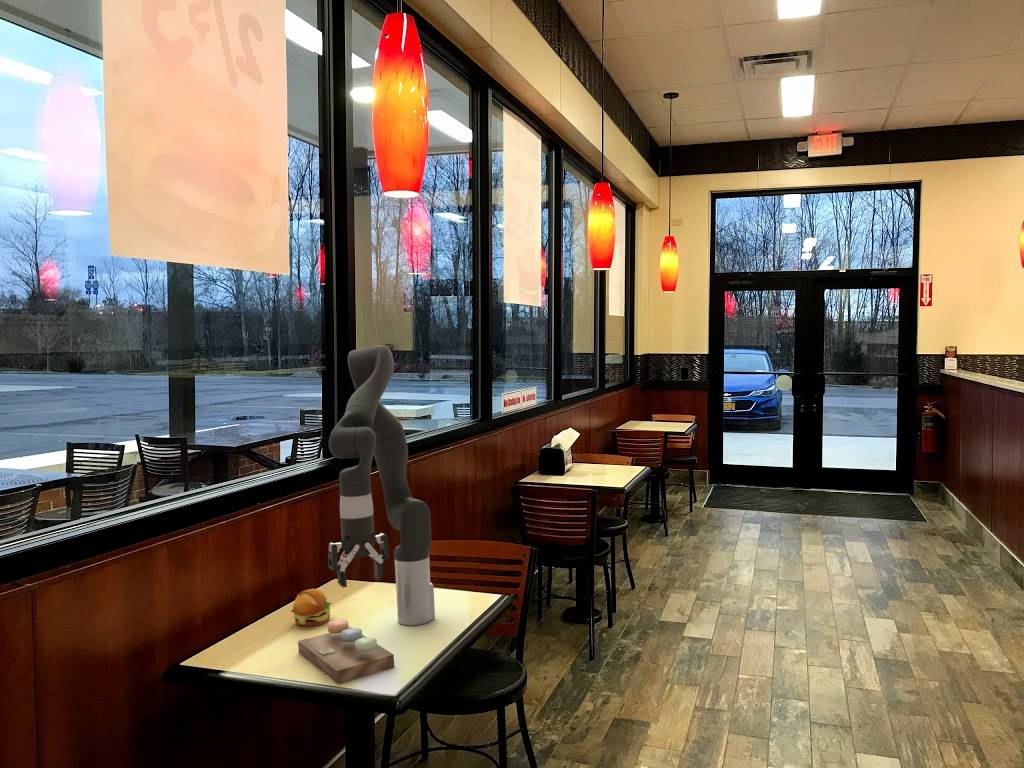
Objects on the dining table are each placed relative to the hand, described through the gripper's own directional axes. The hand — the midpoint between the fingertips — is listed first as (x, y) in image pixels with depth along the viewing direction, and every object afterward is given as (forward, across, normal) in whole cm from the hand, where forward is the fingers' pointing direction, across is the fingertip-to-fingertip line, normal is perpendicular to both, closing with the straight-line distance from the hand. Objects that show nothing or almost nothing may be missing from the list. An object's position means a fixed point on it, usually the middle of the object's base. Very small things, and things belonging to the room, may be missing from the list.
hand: (360, 582), depth 187 cm
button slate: (+15, 0, -8) cm, 17 cm away
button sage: (+15, 0, 0) cm, 15 cm away
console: (+20, +2, -8) cm, 22 cm away
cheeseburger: (+20, -2, -39) cm, 44 cm away
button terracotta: (+15, 0, -16) cm, 22 cm away
